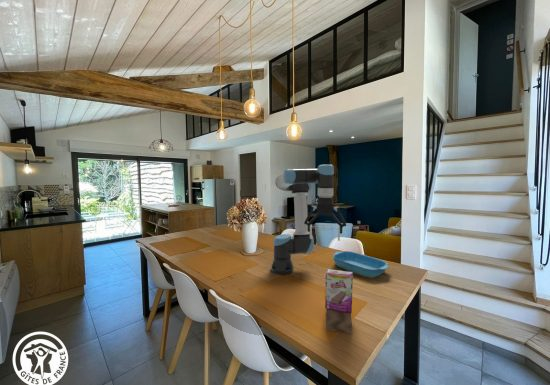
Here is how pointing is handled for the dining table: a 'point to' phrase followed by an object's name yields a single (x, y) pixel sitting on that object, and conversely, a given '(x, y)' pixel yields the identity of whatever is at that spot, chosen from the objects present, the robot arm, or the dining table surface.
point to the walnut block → (338, 321)
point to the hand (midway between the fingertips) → (324, 239)
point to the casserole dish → (360, 263)
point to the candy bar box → (339, 290)
